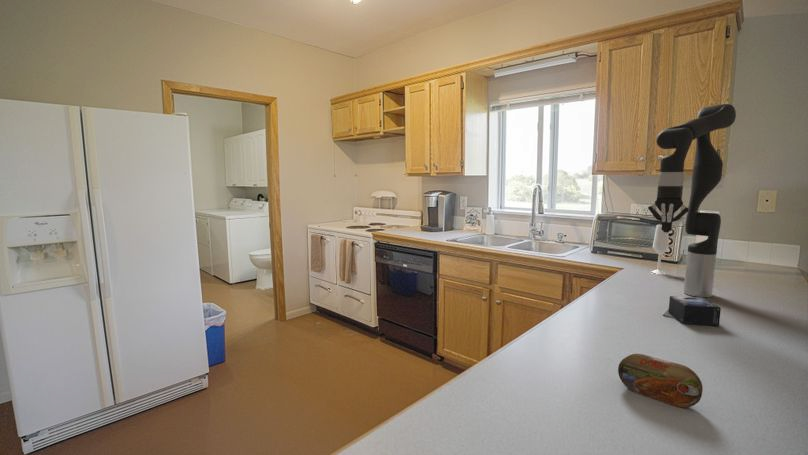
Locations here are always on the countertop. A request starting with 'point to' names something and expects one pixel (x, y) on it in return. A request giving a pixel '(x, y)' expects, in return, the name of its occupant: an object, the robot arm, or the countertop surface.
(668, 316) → the mat
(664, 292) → the countertop surface
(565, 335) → the countertop surface
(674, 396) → the tin
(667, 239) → the champagne flute
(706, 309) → the small box
